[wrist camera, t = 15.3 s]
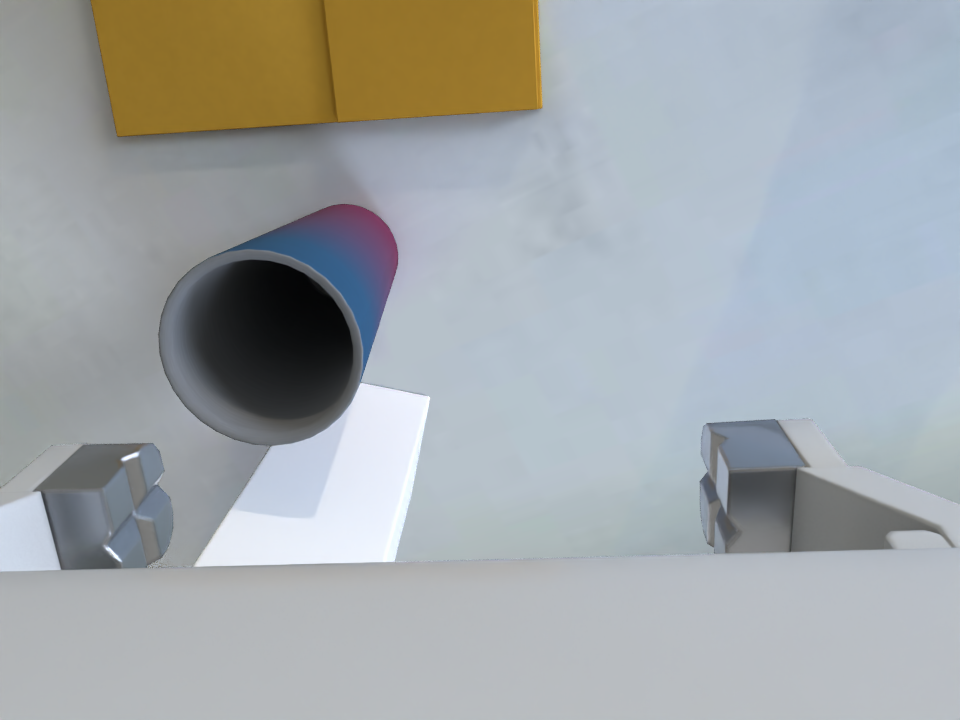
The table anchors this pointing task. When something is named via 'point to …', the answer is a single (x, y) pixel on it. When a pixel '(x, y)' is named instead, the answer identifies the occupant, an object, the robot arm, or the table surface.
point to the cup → (280, 326)
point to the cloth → (313, 61)
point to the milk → (329, 490)
